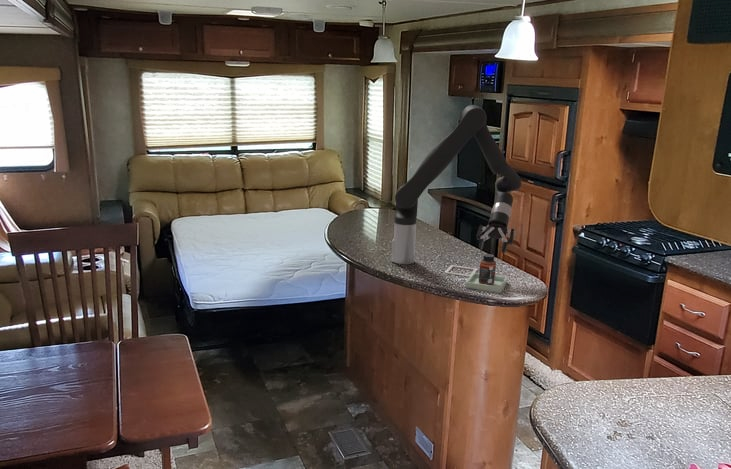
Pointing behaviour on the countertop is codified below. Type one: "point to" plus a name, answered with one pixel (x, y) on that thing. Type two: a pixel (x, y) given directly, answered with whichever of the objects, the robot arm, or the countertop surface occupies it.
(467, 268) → the mat frame
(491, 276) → the supplement bottle
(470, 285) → the tray
